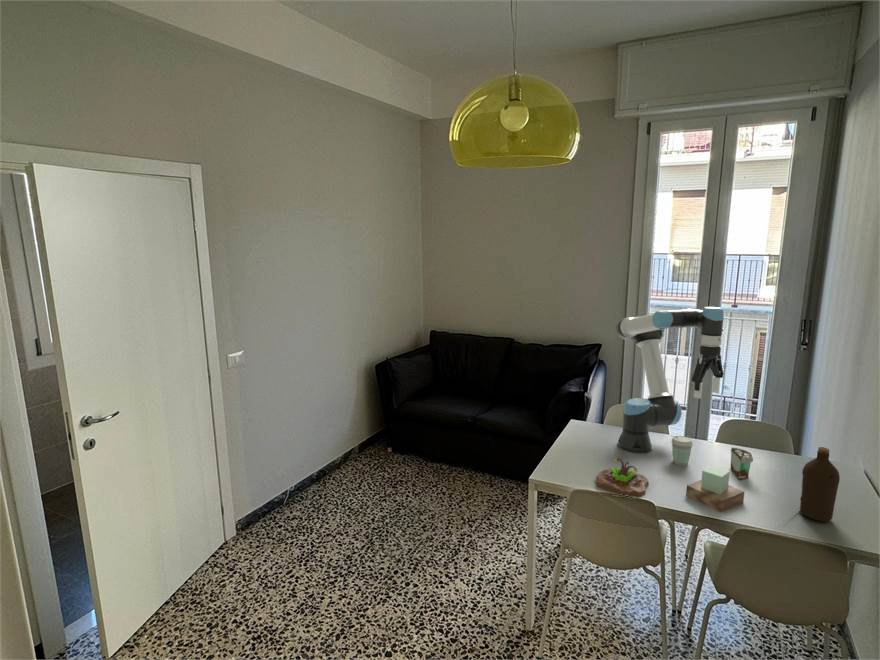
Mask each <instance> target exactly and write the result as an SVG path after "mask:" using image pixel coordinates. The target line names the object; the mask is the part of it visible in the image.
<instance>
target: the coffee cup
mask: <svg viewBox="0 0 880 660" xmlns="http://www.w3.org/2000/svg"><path fill="white" fill-rule="evenodd" d="M692 440H693V439H691V438H690V437H688V436H684V435H675V436H673V437H672V439H671V444H672V445H671V448H672V462H673V464H674V465H676V466H679V467H687V466H688V465H689V461H690V457H691V451H692V447H693V444H694V443H693V441H692Z"/></svg>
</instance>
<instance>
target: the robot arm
mask: <svg viewBox="0 0 880 660" xmlns="http://www.w3.org/2000/svg"><path fill="white" fill-rule="evenodd" d="M724 310H725V309H723V308H722V307H719V306H717V307H716V306H704V307H703V309H697V308H686V309H674V310H673V309H672V310H671V309H668V310H666V309H663V310H657V311H655V312H654V313H651V314H646V315H641V316H628V317H624V318H621V319H620V320H618V321H617V323H616V325H615V333H616V334H617V336H619V338H621V339H622V340H626V341H635V343H636V346H637V347H638V348H640V353H641V358H642V362H643V366H644V367H643V368H644V371H645V376H646V383H647V387H648V393H649V396H648V397H647V398H643V397H641V398H640V397H635V398H629V399H627V400H626V401H625V402H624V404H623V410H622V411H623V416H622V431H621V434H620V435H619V438H618V441H617V446H618V447H619V449H621V450H623V451H625V452H628V453H633V454H639V455H640V454H641V455H642V454H648V453H650V452H651V451H652V449H653V447H652V446H653V445H652V441H651V437H650V434H649V433H650V431H649V430H650V427H664V426H666V427H668V426H672V425H673V426H675V425H676V424H678V423H679V422H680V420H681V418H682V413H683V412H682V410H683V409H682V406H681V404H680V402H679V401H678V400H676V399H675V398H674V395H673V394H671V393H670V392H669V387H668V383H667V379H666V374H665V369H664V363H663V359H662V354H661V349H660V344H661V342H662V339H663V337H664V336H665V330H667V329H675V328H679V329H680V328H681V329H684V328H698V329H700V331H701V332H700V346H699V354H700V355H702V358H701V357H697V359H696V360H697V361H696V365H695V369H694V371H693V375H692V377H691V382H692V383H694V388H693V389H694V391H693V398H694V399H700V400H701V399H702V396H703V395H702V394H703V379H704V378H705V375H706V373H707V371H708V370H709V369H710V370H711V372H712V374H713V376H712V381H711V391H710V392H711V393H714V394H719V393H720V382H721V379H723V377H724V369H723V364H722V355H721V351H722V346H721V345H722V341H723V338H722V336H723V335H722V334H723V329H724V327H723V326H724V317H725V316H724V312H725V311H724Z"/></svg>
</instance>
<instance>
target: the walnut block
mask: <svg viewBox="0 0 880 660" xmlns="http://www.w3.org/2000/svg"><path fill="white" fill-rule="evenodd" d="M701 481H702V479H699V480H697V481H694V482H691V483H688V484H686V490H685V491H686V492H685V497H687V498H689V499H691V500H693V501H696V502H697V503H699V504H702V505H705V506H706V507H708V508H710V509H712V510H714V511H716V512H719V513H723V512H725V511H728V510H730V509H733V508H735V507H737V506H739V505H741V504H742V505H743V504H744V502H745V501H744V500H745V491H744V490H741V489H739V488H736V487H734V486H732V485H729V484H728V489H727V490H726V491H724V492H723V493H722V494H721V495H720V494H717V493H714V492H711V491H709V490H706V489H703V488H701Z"/></svg>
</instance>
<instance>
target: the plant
mask: <svg viewBox="0 0 880 660" xmlns="http://www.w3.org/2000/svg"><path fill="white" fill-rule="evenodd" d="M619 461H620V463H621V465H620V466H621V467H619V466H617V467H616V468H614V467H612V466H611V467H610V468H607V469H604V470H602V471H600V472H599V473H598V474H597V475H596V487H597V488H599V489H603V490H606V491H608V492H610V493H611V492H612V493H614V494H617V495H619V494H622V495H621V496H625V495H628V496H627V497H629V496H630V497H632V496H633V497H637V498H640V497H641V498H642V497H643V496H645V495H646V490H647V488H648V487H649V480H648V478H647V477H645V476H644V475H643V474H639V473H638V471H639V470H638V468H636V466H634V465H630V461H627V460H626V461H625V462H624V461H623V460H622V459H621V458H619V457H618V458H617V457H616V458H614V462H616V463H618V462H619ZM630 468H634V469H633V470H634V472H633V471H630V470H631V469H630Z"/></svg>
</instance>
